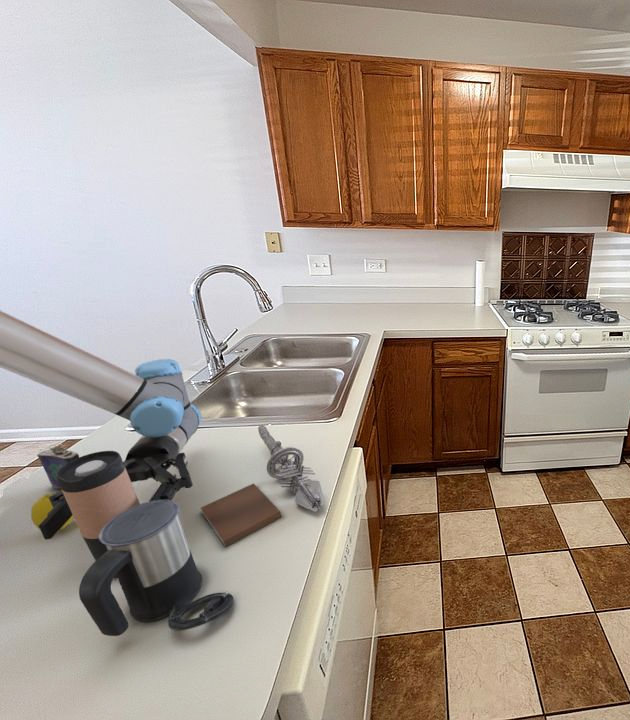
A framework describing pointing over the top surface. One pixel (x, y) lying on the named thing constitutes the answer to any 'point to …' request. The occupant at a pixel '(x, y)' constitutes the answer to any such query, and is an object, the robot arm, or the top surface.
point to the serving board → (240, 514)
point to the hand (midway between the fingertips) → (98, 522)
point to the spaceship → (292, 472)
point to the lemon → (44, 511)
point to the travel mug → (96, 494)
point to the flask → (55, 462)
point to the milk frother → (147, 572)
